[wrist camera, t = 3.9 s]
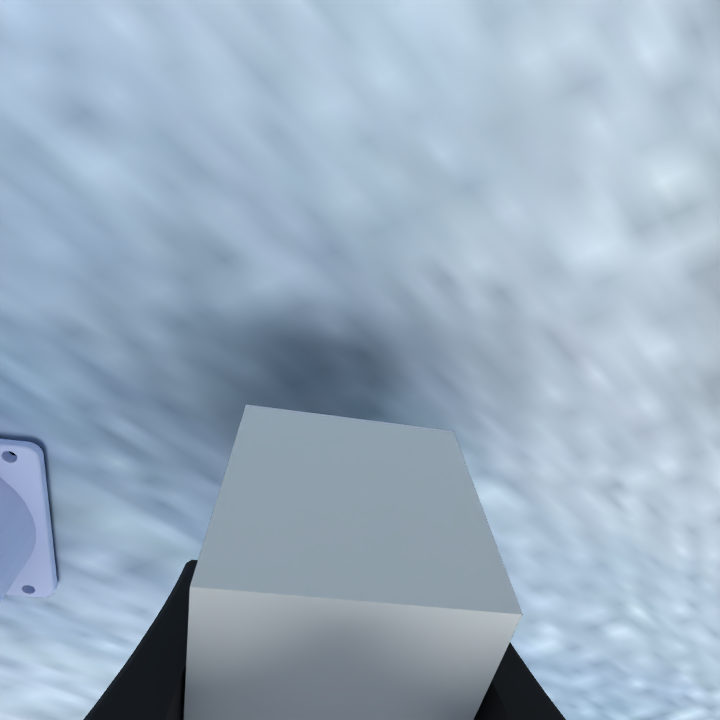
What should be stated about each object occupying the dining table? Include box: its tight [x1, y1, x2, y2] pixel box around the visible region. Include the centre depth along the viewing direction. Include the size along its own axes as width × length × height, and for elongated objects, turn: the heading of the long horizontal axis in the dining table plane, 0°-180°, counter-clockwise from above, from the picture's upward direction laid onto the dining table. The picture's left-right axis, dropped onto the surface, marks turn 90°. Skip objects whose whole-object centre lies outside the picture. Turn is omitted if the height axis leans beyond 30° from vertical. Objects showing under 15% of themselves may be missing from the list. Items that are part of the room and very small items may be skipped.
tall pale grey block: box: [184, 405, 523, 720], centre depth 11 cm, size 5×7×5 cm
